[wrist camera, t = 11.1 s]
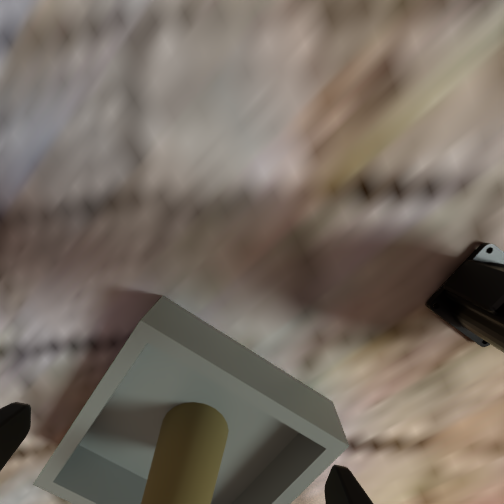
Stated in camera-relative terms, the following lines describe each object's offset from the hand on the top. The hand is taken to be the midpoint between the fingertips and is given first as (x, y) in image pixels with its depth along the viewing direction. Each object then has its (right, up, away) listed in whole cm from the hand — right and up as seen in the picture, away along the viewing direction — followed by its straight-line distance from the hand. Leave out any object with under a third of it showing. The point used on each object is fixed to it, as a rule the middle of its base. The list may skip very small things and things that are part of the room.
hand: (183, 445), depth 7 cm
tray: (-3, -10, +16) cm, 19 cm away
